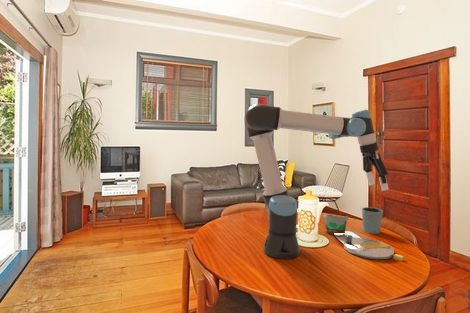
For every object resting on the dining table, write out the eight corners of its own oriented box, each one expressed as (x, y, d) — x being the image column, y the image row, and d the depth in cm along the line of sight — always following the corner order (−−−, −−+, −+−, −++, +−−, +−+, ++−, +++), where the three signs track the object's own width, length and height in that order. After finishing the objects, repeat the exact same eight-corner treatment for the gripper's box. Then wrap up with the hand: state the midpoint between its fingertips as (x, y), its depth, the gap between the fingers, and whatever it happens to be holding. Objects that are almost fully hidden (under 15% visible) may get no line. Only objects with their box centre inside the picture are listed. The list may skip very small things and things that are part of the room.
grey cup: (377, 229, 160) (378, 207, 159) (384, 235, 150) (386, 212, 149) (358, 228, 161) (359, 206, 160) (364, 233, 151) (365, 211, 150)
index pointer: (393, 258, 119) (393, 255, 119) (394, 257, 121) (395, 253, 121) (401, 260, 117) (401, 257, 117) (402, 259, 119) (403, 256, 119)
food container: (321, 234, 148) (322, 215, 147) (322, 231, 154) (323, 212, 153) (347, 238, 143) (348, 218, 143) (347, 234, 149) (348, 215, 148)
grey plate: (336, 249, 127) (336, 237, 127) (354, 238, 142) (354, 227, 141) (384, 263, 113) (385, 250, 113) (399, 250, 128) (400, 238, 127)
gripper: (389, 141, 121) (400, 190, 122) (365, 140, 146) (374, 181, 147) (371, 146, 121) (382, 194, 122) (350, 144, 146) (360, 184, 147)
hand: (378, 187), depth 135 cm, fingers open, 13 cm apart
